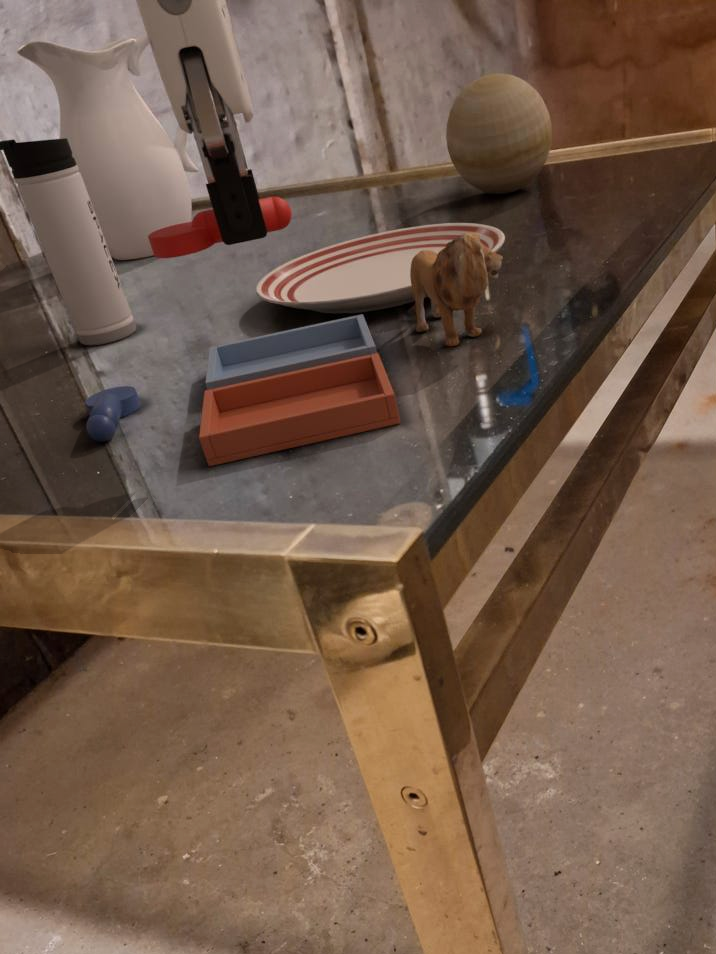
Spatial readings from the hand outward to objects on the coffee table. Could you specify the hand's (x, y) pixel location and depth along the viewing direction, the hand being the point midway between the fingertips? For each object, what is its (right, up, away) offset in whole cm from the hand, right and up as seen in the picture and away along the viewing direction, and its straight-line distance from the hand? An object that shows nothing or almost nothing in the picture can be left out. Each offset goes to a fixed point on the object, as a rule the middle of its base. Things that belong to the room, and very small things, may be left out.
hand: (245, 234), depth 67 cm
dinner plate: (+7, +9, +35) cm, 36 cm away
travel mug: (-24, +4, +35) cm, 43 cm away
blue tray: (+1, -6, +15) cm, 16 cm away
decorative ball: (+21, +36, +68) cm, 80 cm away
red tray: (+3, -12, +5) cm, 14 cm away
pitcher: (-30, +31, +75) cm, 86 cm away
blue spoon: (-14, -11, +12) cm, 21 cm away
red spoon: (-1, 0, 0) cm, 2 cm away
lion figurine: (+15, -1, +18) cm, 23 cm away
